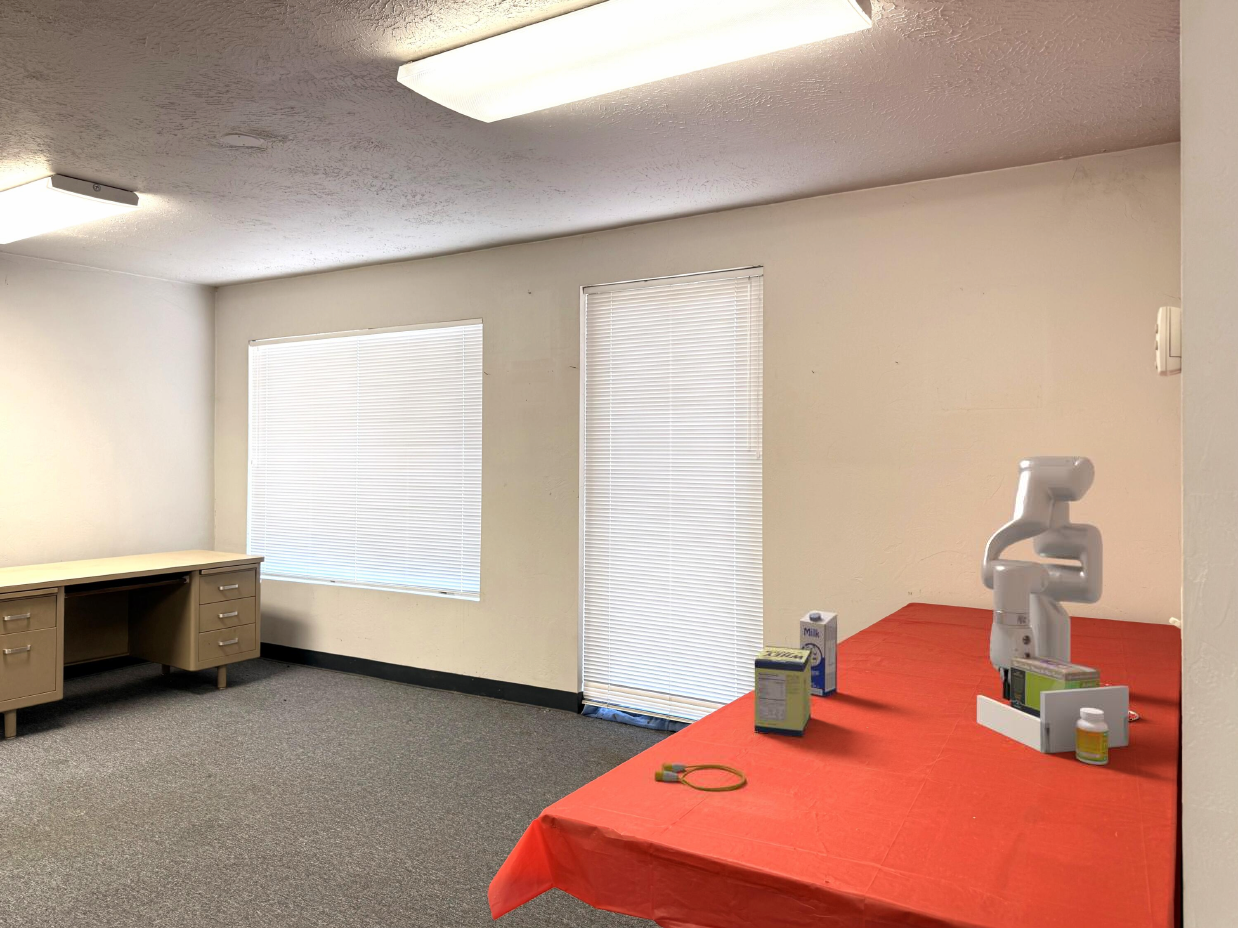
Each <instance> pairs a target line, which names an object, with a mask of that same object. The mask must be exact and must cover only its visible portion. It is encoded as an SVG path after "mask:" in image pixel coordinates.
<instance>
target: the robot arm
mask: <svg viewBox="0 0 1238 928" xmlns="http://www.w3.org/2000/svg"><path fill="white" fill-rule="evenodd" d="M1093 463H1094V462H1092V460H1091V459H1090V458H1089V457H1086V456H1076V455H1075V456H1074V455H1073V456H1067V455H1066V456H1059V455H1058V456H1054V455H1053V456H1052V455H1045V456H1043V455H1040V456H1030V457H1027V458H1026V457H1025V458H1023V459H1022V460H1020V461H1019V463H1018V476H1017V477H1018V478H1017V482H1016V488H1015V494H1014V499H1013V504H1012V510H1011V515H1010V516H1011V517H1010V518H1009V520H1008V522H1006V523H1005V524H1003V525H1002V526H1000V528H998V529H997V530H996V531H995V532H994V533H993V535H992V536H991V537H990V538H989V539H988V541H987V543H986V546H985V548H984V551H983V558H982V561H981V568H980V569H981V570H980V579H981V582H982V584H983V586H984V587H985V588H987V589H988V590H991V591H993V606H992V607H993V619H992V620H993V622H992V625H991V631H990V641H989V642H990V643H989V657H990V658H989V659H990V661H991V662H992V666H993V668H994V669H995V670H997V671H998V673H999V674H1000V680H1001V681H1002V699H1004V700H1006V701H1007V702H1008V701H1009V702H1010V668H1011V658H1017V659H1023V658H1027V657H1030V658H1036V656H1046V657H1050V658H1054V659H1058V660H1062V661H1066V662H1070V663H1071V617H1070V615H1069V613H1068V612H1067V610H1066V608H1064V606H1063V605H1062V604H1061V602H1063V603H1074V604H1075V603H1076V604H1085V605H1087V604H1088V605H1091V604H1092V605H1093V604H1096V603H1098V602H1099V601H1100V600H1101V598H1102V595H1103V585H1104V584H1103V577H1104V574H1103V569H1104V568H1103V561H1104V560H1103V558H1104V557H1103V554H1104V552H1103V547H1104V546H1103V537H1102V533H1101V531H1100V530H1099V528H1098V527H1097V526H1095V525H1092V524H1090V523H1074V522H1073V523H1072V522H1071V519H1070V502H1078V501H1080V500H1081V499H1083V497H1085V496H1086V494H1087V492H1088V491H1089V489H1091V487H1092V485H1093V484H1094V483H1093V482H1094V480H1095V473H1096V472H1095V467H1094V464H1093ZM1030 538H1032V548H1033V551H1034V553H1035V554H1036V555H1037V556H1039V557H1041V558H1046V559H1054V560H1055V559H1056V560H1068V561H1078V562H1079V563H1080V564H1081V565H1074V564H1072V565H1071V564H1062V563H1050V562H1049V563H1046V562H1043V563H1040V562H1036V561H1031V560H1030V561H1028V560H1017V559H1007V558H1005V559H1003V558H1000V556H1001V555H1002V553H1003V552H1004V551H1005V550H1006V549H1007V548H1009V547H1010V546H1012V545H1014V544H1016V543H1019V542H1021V541H1022V542H1023V541H1025V540H1027V539H1028V540H1029V539H1030Z"/></svg>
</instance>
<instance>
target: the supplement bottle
mask: <svg viewBox="0 0 1238 928" xmlns="http://www.w3.org/2000/svg"><path fill="white" fill-rule="evenodd" d="M1080 716H1081V717H1082V719H1079V720H1078V721H1077V722H1076V751H1075V757H1076V759H1077V760H1079V761H1080V762H1083V763H1085V764H1090V765H1097V766H1099V765H1100V766H1101V765H1102V766H1103V765H1106V764H1107V763H1108V762H1109V747H1108V726H1107V724H1106V723H1104V722H1103V721H1102V720H1104V712H1103V711H1101V710H1098V709H1094V708H1081V709H1080Z"/></svg>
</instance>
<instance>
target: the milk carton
mask: <svg viewBox="0 0 1238 928" xmlns="http://www.w3.org/2000/svg"><path fill="white" fill-rule="evenodd" d="M798 621H799V649H810V650H811V696H816V695H817V697H821V698H825V697H827V695H828V696H830V695H833V694H835V693H837V691H838V686H837V685H838V613H836V612H830V611H821V610H815V609H813V610H811V611H809V612H807V613H806V615H804V616H803V617H802V618H800V619H799V620H798ZM832 693H833V694H832Z"/></svg>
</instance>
